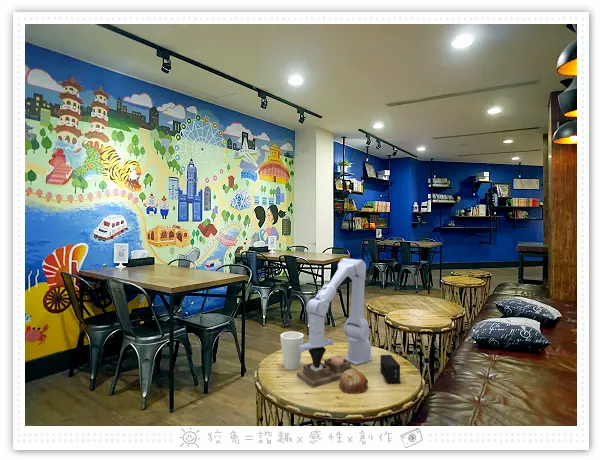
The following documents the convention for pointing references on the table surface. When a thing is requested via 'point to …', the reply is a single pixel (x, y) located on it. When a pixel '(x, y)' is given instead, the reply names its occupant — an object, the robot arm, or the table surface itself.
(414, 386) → the table surface
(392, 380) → the digital camera
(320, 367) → the grey plunger
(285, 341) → the foam cup
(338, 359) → the tan rounded piece
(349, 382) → the bread roll
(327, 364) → the brown wooden tray
